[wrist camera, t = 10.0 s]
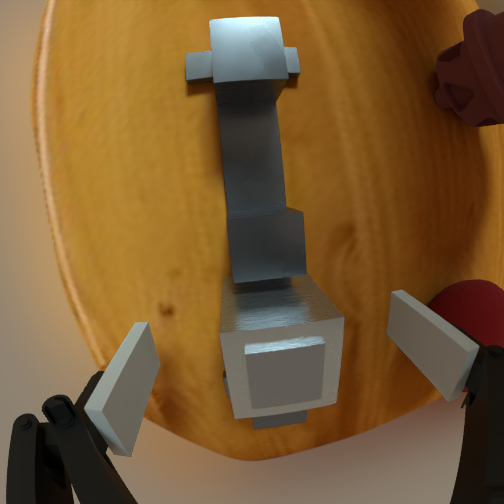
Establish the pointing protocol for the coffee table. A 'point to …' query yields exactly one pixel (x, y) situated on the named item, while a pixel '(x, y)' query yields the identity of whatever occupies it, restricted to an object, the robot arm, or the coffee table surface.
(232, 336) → the block
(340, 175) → the coffee table surface
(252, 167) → the rail
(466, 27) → the mechanical component
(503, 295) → the apple
